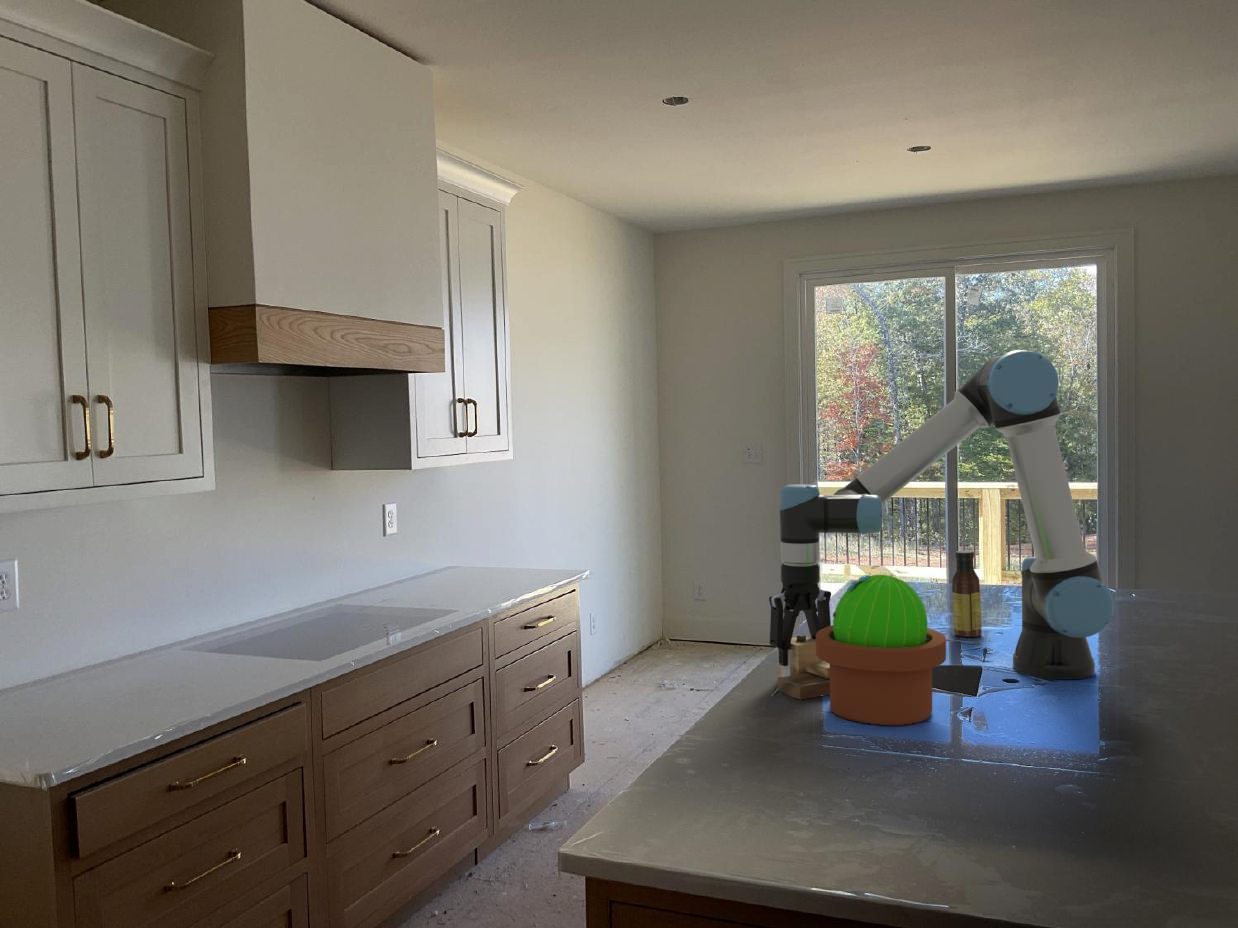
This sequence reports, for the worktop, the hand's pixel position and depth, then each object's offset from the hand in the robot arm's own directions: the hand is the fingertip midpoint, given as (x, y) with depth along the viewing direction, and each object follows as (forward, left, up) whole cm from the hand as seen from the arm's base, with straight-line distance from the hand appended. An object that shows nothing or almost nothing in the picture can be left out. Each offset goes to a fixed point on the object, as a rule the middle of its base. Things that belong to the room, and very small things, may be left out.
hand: (801, 678), depth 192 cm
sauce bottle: (+11, -57, -1) cm, 58 cm away
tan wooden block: (-3, 0, 0) cm, 3 cm away
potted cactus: (-23, 0, -1) cm, 23 cm away
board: (-7, -3, 0) cm, 7 cm away
